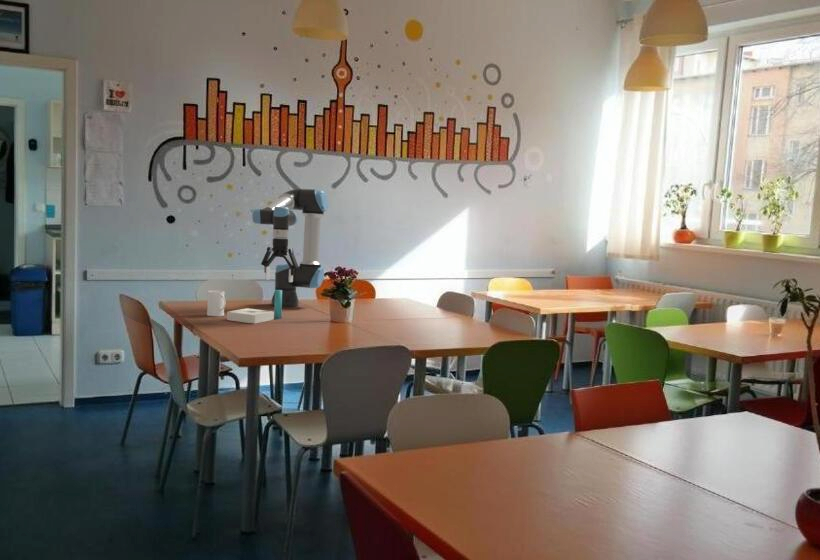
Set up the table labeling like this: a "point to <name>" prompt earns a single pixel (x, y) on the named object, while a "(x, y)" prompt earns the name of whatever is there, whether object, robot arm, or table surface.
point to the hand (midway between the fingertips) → (279, 280)
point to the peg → (278, 304)
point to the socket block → (250, 315)
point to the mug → (216, 303)
